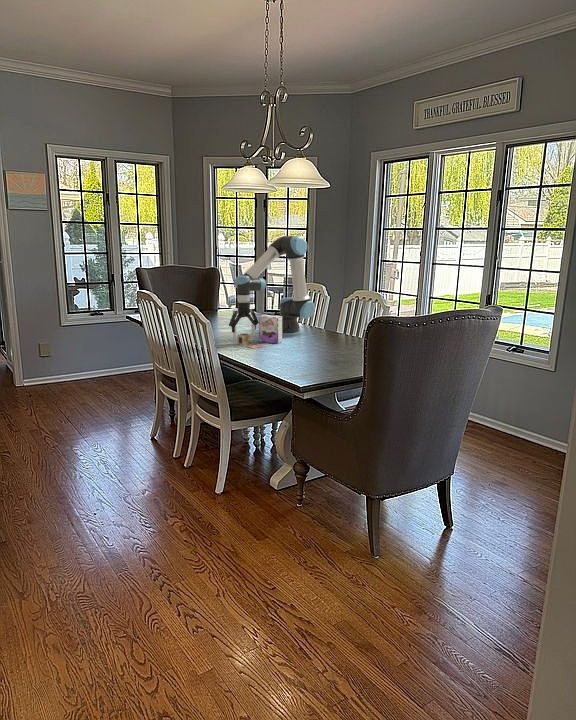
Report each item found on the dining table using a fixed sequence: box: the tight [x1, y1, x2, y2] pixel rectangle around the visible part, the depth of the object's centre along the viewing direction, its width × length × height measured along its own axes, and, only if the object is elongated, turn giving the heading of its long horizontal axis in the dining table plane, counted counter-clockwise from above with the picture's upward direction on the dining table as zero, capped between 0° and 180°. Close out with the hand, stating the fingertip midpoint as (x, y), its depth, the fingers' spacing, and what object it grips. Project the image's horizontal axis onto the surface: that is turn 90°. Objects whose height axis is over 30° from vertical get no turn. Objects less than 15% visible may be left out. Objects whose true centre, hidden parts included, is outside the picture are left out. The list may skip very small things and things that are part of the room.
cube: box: [237, 332, 253, 347], centre depth 324 cm, size 6×6×6 cm
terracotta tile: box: [245, 344, 263, 350], centre depth 316 cm, size 7×7×1 cm
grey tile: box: [256, 342, 273, 348], centre depth 321 cm, size 7×7×1 cm
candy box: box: [258, 314, 283, 345], centre depth 329 cm, size 14×6×16 cm, turn 62°
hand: (244, 336), depth 324 cm, fingers open, 13 cm apart
